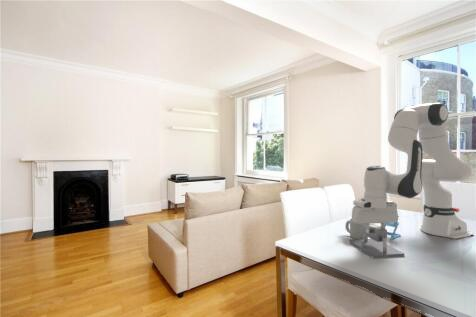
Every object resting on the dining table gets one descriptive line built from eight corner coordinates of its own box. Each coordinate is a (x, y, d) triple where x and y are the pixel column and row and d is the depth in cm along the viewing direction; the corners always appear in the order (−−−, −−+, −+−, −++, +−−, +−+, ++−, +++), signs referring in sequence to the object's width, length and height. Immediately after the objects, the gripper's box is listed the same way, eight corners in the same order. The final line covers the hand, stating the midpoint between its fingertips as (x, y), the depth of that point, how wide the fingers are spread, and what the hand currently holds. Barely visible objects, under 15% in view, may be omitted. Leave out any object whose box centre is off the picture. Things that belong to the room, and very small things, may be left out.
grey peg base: (376, 240, 115) (376, 226, 115) (404, 256, 98) (404, 239, 98) (349, 242, 113) (349, 227, 113) (373, 258, 96) (373, 241, 96)
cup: (361, 241, 114) (361, 223, 114) (342, 235, 122) (342, 218, 122) (368, 238, 119) (368, 220, 118) (349, 232, 127) (349, 216, 126)
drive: (373, 234, 110) (372, 223, 110) (387, 241, 101) (387, 229, 101) (364, 234, 110) (363, 224, 109) (377, 241, 101) (377, 230, 101)
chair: (379, 237, 120) (379, 213, 120) (383, 232, 126) (383, 210, 126) (397, 240, 115) (397, 216, 114) (400, 236, 121) (400, 213, 120)
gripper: (391, 199, 109) (390, 229, 110) (349, 201, 107) (349, 231, 107) (402, 202, 103) (401, 233, 103) (358, 204, 101) (358, 236, 101)
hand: (374, 232), depth 105 cm, fingers closed on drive, 4 cm apart
